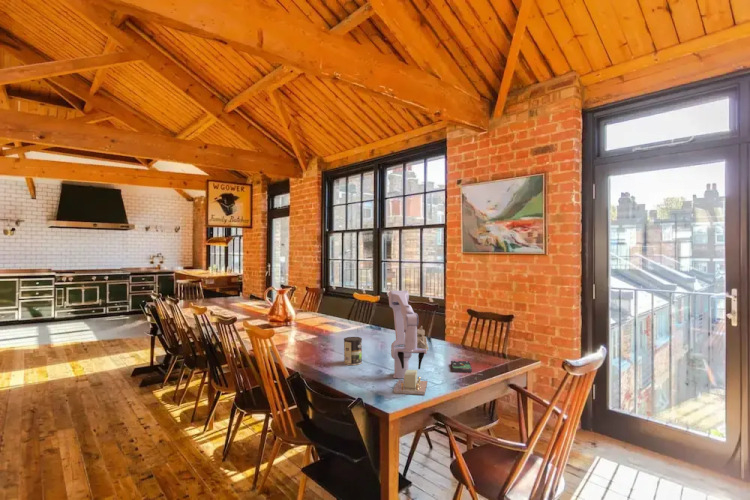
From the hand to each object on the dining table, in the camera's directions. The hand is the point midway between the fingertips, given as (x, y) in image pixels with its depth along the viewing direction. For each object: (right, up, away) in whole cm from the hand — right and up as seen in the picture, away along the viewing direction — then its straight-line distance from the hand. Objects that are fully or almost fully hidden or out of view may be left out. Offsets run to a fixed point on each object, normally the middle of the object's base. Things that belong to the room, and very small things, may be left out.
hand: (411, 368), depth 196 cm
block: (0, -8, 0) cm, 8 cm away
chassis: (0, -9, 0) cm, 9 cm away
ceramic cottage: (+10, -9, +76) cm, 77 cm away
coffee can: (-30, -10, +44) cm, 54 cm away
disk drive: (+30, -10, +32) cm, 45 cm away
